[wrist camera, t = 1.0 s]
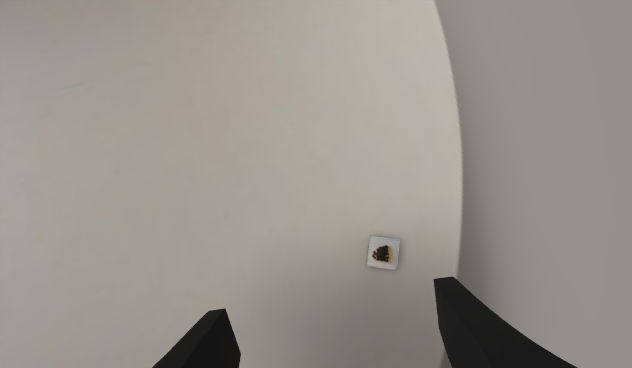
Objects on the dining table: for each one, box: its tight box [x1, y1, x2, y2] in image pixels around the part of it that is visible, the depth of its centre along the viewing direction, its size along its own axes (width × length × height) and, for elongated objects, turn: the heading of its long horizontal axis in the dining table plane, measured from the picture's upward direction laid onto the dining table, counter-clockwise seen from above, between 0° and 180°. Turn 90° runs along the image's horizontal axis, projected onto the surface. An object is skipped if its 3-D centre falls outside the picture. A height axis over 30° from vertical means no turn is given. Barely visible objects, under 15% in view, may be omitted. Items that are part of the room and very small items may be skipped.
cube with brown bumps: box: [367, 236, 400, 270], centre depth 27 cm, size 2×2×2 cm
